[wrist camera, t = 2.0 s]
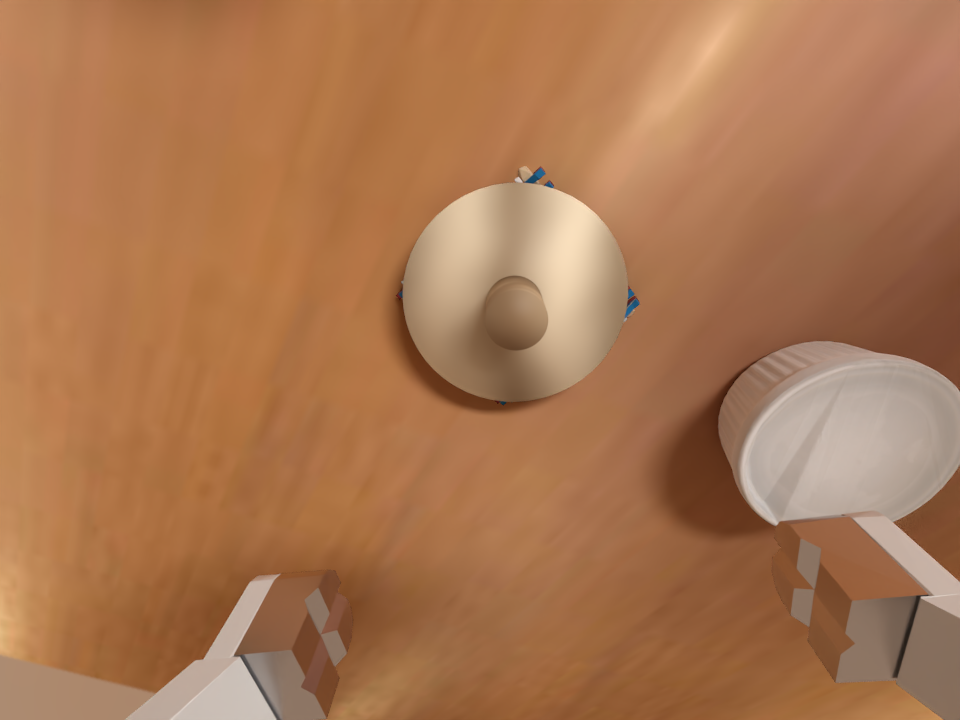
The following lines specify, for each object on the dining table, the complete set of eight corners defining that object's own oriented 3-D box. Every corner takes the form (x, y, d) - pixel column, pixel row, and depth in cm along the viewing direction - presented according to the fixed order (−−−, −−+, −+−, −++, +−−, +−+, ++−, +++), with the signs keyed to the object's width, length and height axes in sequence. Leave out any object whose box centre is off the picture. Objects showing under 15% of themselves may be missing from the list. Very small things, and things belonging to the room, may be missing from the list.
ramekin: (678, 367, 27) (717, 411, 22) (877, 292, 25) (967, 322, 20) (723, 501, 31) (765, 562, 26) (898, 446, 29) (979, 502, 24)
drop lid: (615, 158, 22) (637, 157, 18) (631, 377, 26) (652, 410, 23) (378, 209, 23) (357, 217, 20) (434, 409, 28) (425, 444, 24)
